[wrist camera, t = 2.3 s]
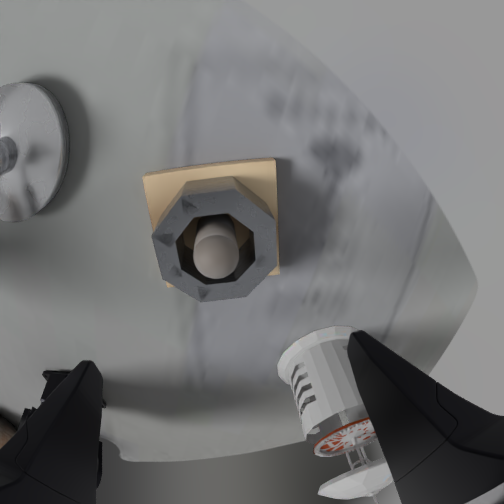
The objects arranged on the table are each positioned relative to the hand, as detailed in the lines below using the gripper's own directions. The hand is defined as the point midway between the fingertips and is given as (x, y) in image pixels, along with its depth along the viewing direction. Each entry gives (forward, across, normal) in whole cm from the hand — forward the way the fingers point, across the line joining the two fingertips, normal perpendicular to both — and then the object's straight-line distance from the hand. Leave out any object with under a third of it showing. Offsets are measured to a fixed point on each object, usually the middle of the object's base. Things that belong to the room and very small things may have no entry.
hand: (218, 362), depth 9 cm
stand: (+12, 0, 0) cm, 12 cm away
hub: (+12, +14, -8) cm, 20 cm away
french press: (+12, -9, +17) cm, 23 cm away
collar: (+11, 0, 0) cm, 11 cm away
